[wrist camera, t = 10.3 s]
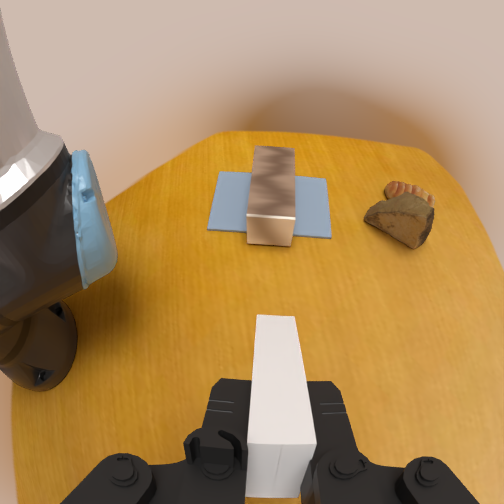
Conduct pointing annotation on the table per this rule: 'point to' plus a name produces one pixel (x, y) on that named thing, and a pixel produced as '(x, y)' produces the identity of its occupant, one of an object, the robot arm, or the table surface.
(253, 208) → the walnut block
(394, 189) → the pastry
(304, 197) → the mat
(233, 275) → the table surface
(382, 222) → the rock
